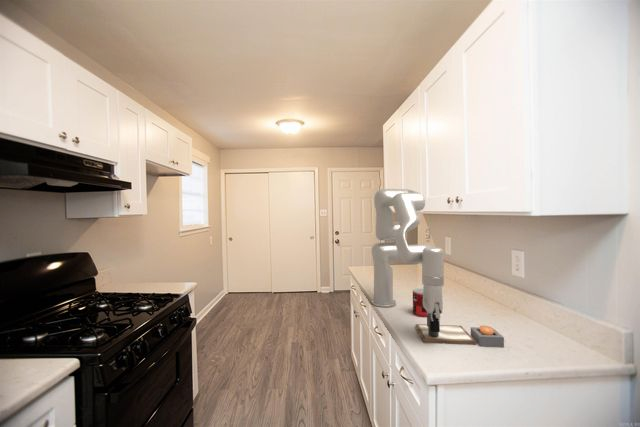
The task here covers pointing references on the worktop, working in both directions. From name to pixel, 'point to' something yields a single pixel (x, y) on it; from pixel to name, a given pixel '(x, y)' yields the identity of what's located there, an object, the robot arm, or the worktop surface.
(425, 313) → the canned food
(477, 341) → the button housing
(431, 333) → the grey tall cylinder
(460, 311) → the worktop surface
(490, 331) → the button
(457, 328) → the board
